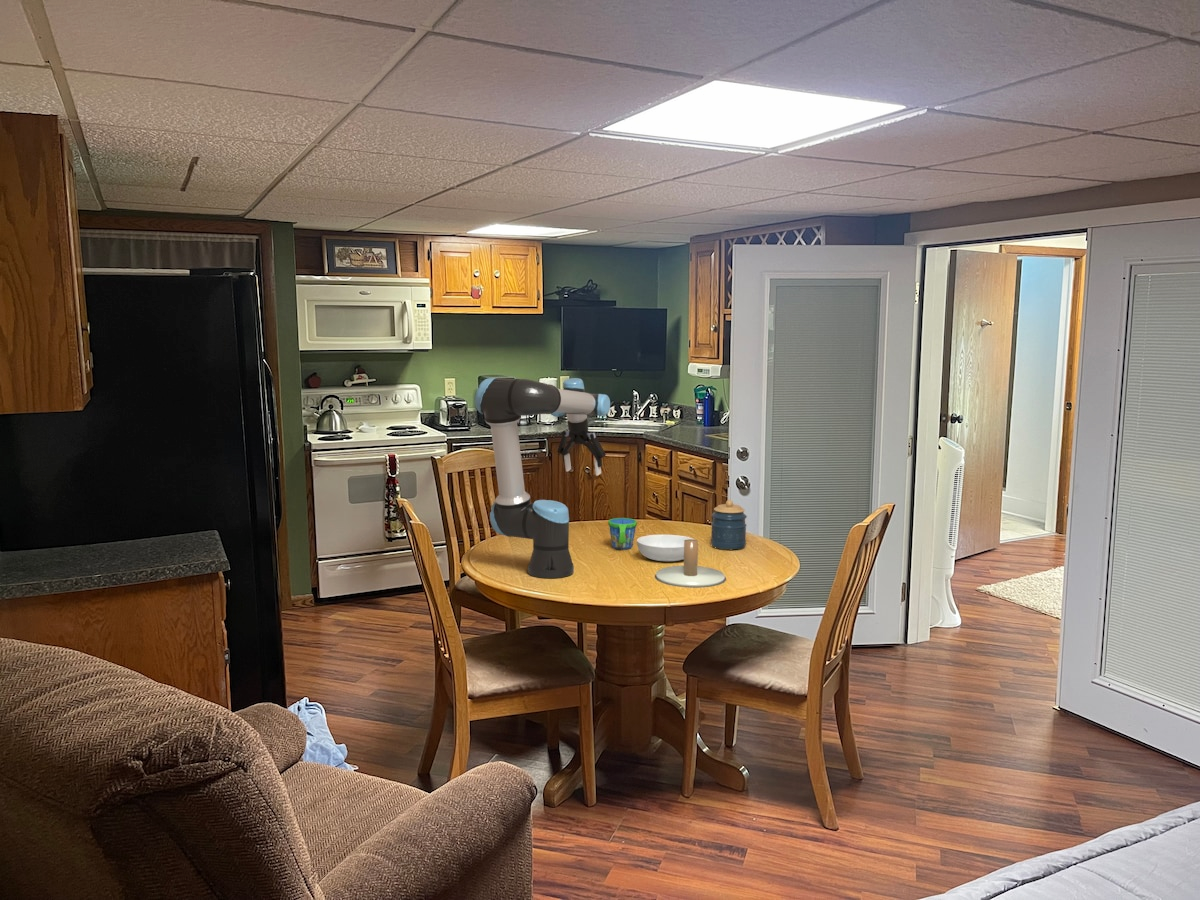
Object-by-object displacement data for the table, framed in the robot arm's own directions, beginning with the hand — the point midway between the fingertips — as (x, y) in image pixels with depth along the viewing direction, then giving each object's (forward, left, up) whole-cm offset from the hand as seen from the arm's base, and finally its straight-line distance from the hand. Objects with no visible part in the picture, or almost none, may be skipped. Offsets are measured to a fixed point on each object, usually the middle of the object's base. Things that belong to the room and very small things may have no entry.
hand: (583, 472), depth 336 cm
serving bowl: (0, -42, -26) cm, 50 cm away
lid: (-14, -64, -25) cm, 70 cm away
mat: (-14, -64, -26) cm, 71 cm away
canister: (+31, -46, -26) cm, 61 cm away
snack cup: (+1, -20, -26) cm, 33 cm away
